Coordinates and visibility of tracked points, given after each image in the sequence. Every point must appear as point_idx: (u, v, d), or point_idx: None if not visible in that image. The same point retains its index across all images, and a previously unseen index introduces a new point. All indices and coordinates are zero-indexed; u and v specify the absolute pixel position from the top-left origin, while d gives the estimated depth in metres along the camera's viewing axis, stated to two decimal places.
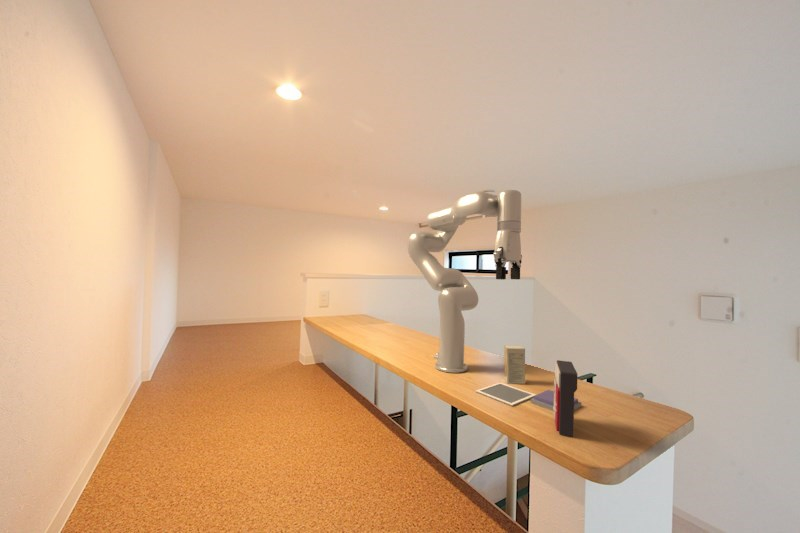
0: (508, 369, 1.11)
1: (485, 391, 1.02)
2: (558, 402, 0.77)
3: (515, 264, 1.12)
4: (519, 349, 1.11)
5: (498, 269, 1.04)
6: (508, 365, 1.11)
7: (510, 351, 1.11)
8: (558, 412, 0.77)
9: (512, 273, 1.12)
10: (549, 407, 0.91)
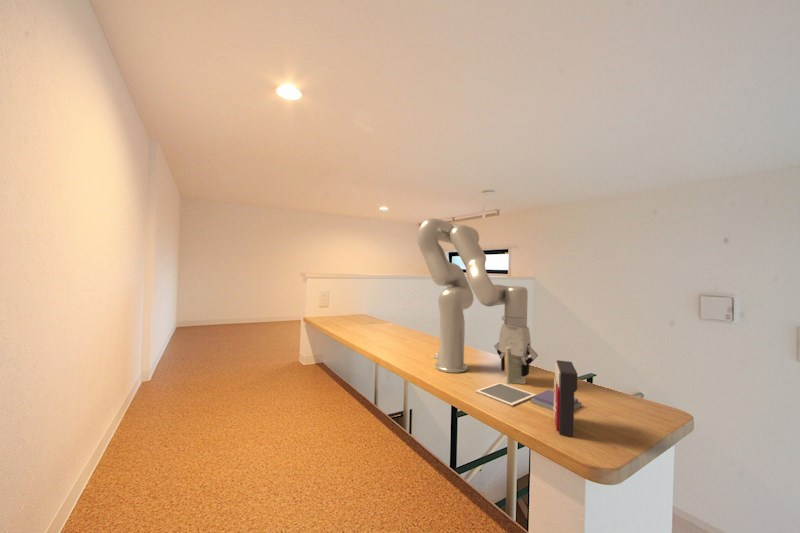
0: (508, 369, 1.11)
1: (485, 391, 1.02)
2: (558, 402, 0.77)
3: None
4: None
5: (527, 367, 1.09)
6: (508, 365, 1.11)
7: (510, 351, 1.11)
8: (558, 412, 0.77)
9: (504, 365, 1.15)
10: (549, 407, 0.91)
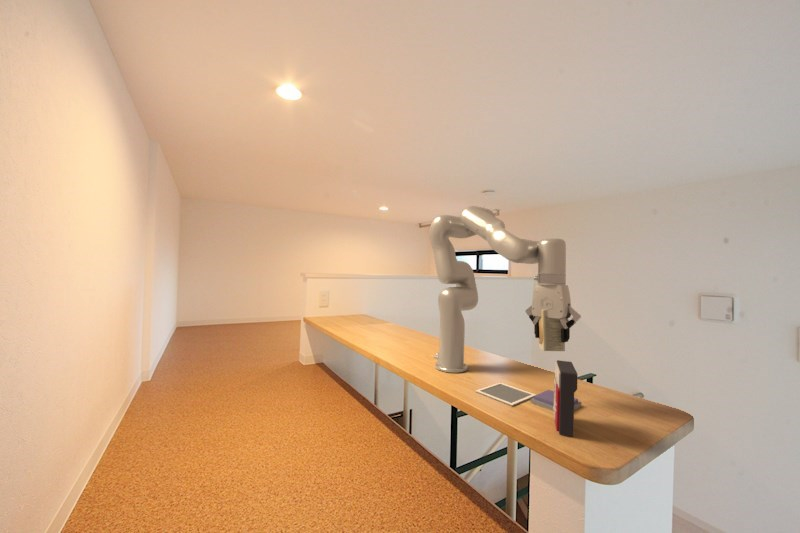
0: (545, 334, 0.95)
1: (485, 391, 1.02)
2: (558, 402, 0.77)
3: None
4: None
5: (567, 331, 0.93)
6: (545, 330, 0.95)
7: None
8: (558, 412, 0.77)
9: (538, 331, 0.99)
10: (549, 407, 0.91)
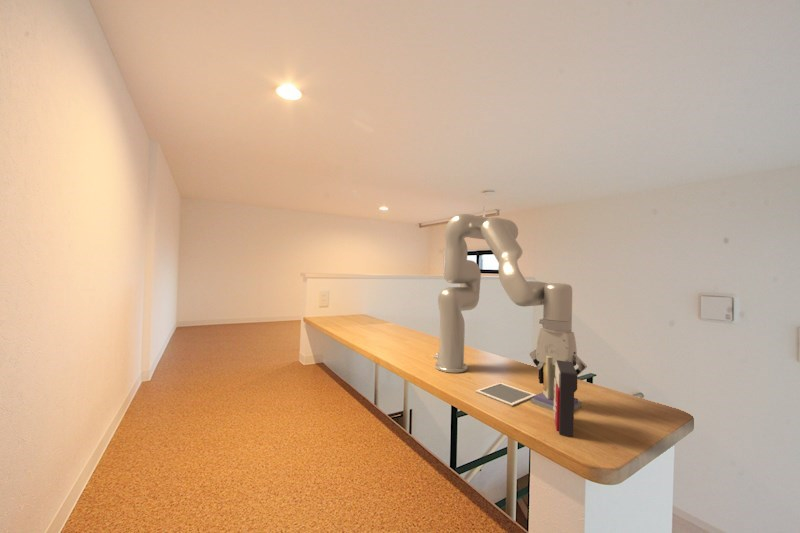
0: (549, 382, 0.92)
1: (485, 391, 1.02)
2: (558, 402, 0.77)
3: None
4: None
5: None
6: (549, 377, 0.92)
7: (551, 361, 0.92)
8: (558, 412, 0.77)
9: (542, 377, 0.97)
10: (549, 407, 0.91)
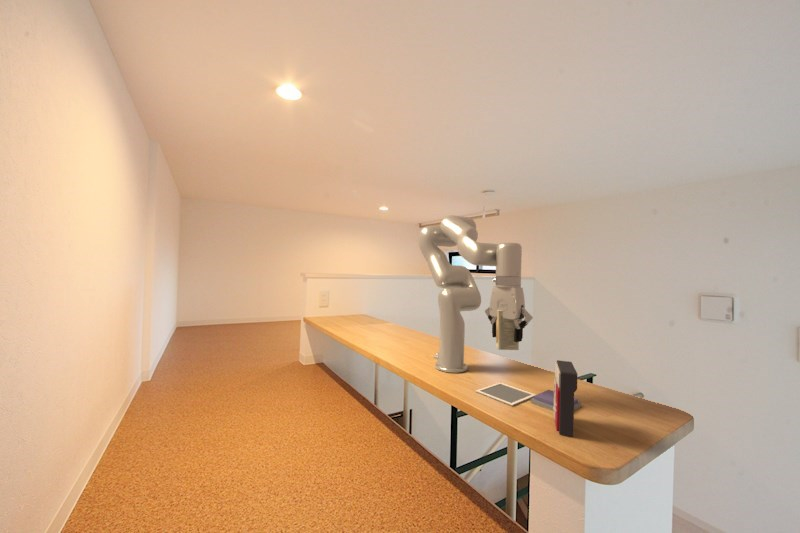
0: (500, 334, 0.99)
1: (485, 391, 1.02)
2: (558, 402, 0.77)
3: None
4: None
5: (520, 331, 0.97)
6: (500, 329, 0.99)
7: (502, 314, 0.99)
8: (558, 412, 0.77)
9: (495, 331, 1.03)
10: (549, 407, 0.91)
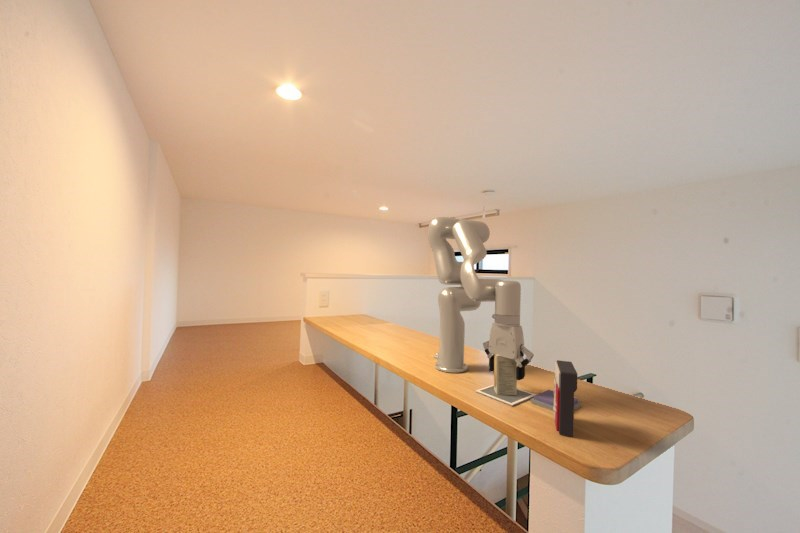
0: (498, 379, 1.00)
1: (485, 391, 1.02)
2: (558, 402, 0.77)
3: None
4: None
5: (522, 369, 0.96)
6: (498, 374, 1.00)
7: (500, 359, 0.99)
8: (558, 412, 0.77)
9: (492, 365, 1.04)
10: (549, 407, 0.91)
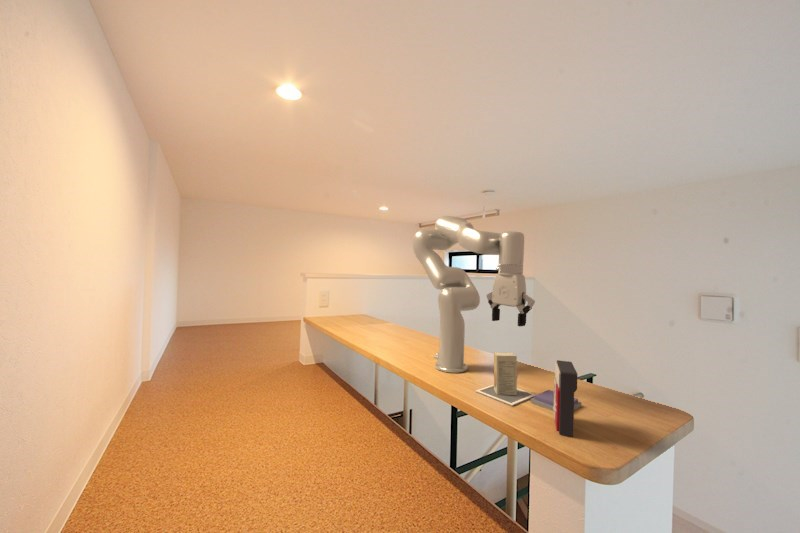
0: (498, 379, 1.00)
1: (485, 391, 1.02)
2: (558, 402, 0.77)
3: None
4: (510, 356, 0.99)
5: (524, 316, 1.00)
6: (498, 374, 1.00)
7: (500, 359, 0.99)
8: (558, 412, 0.77)
9: (495, 315, 1.08)
10: (549, 407, 0.91)
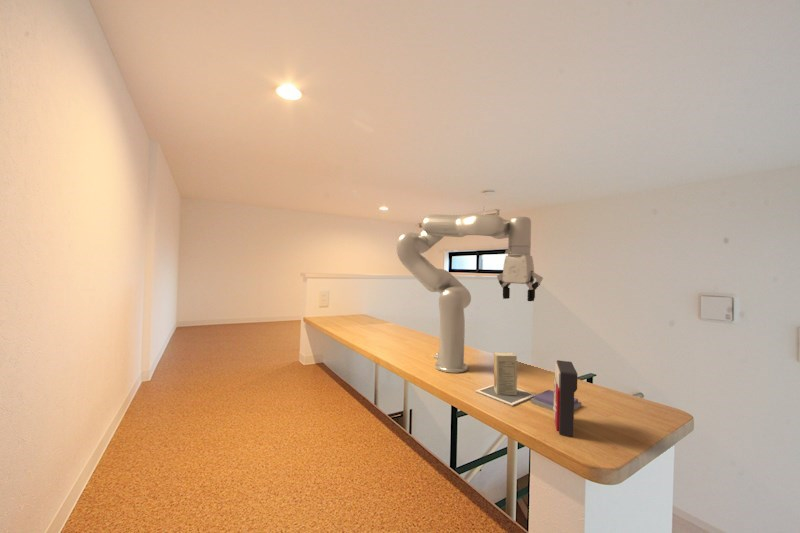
0: (498, 379, 1.00)
1: (485, 391, 1.02)
2: (558, 402, 0.77)
3: None
4: (510, 356, 0.99)
5: (533, 292, 1.11)
6: (498, 374, 1.00)
7: (500, 359, 0.99)
8: (558, 412, 0.77)
9: (506, 293, 1.19)
10: (549, 407, 0.91)
